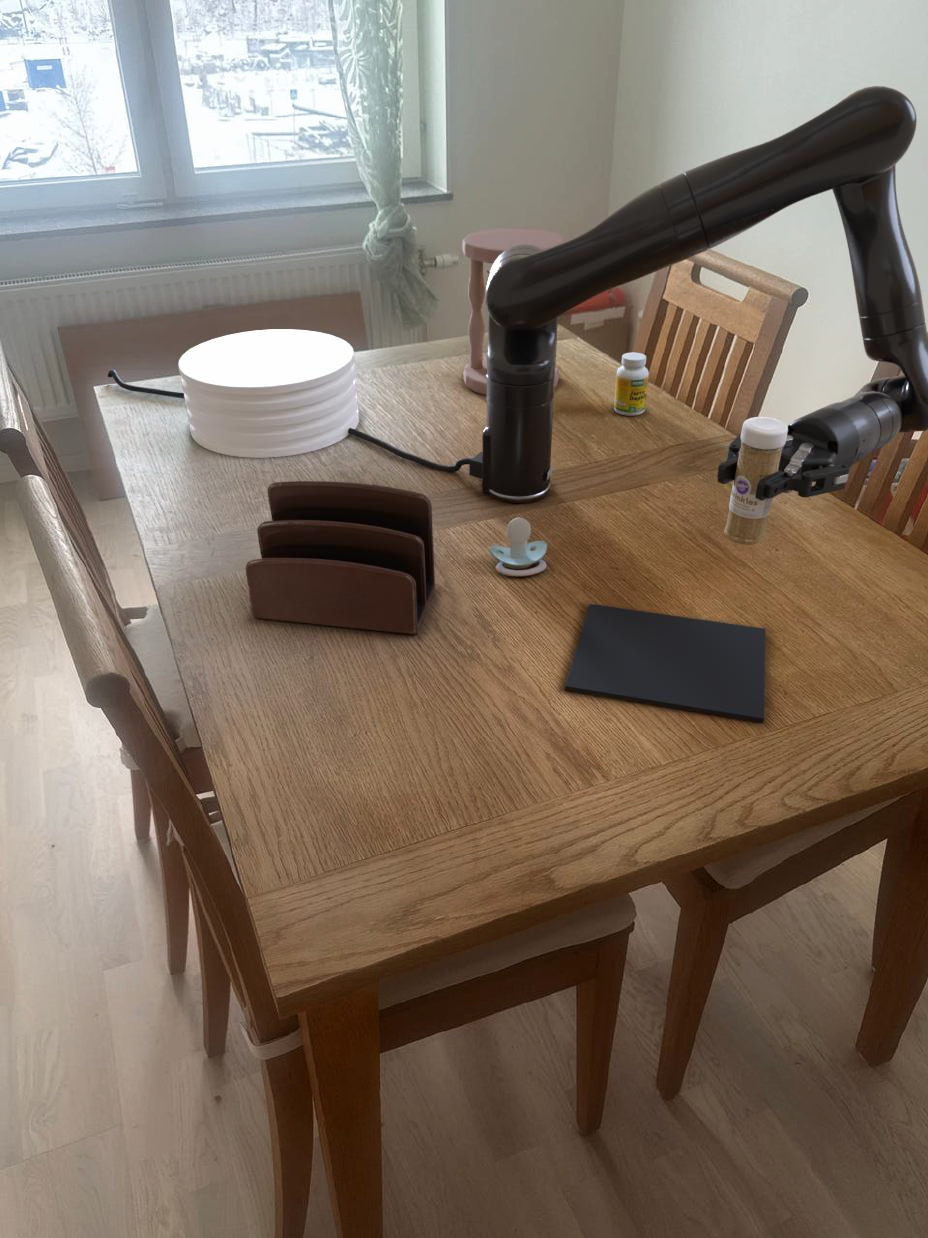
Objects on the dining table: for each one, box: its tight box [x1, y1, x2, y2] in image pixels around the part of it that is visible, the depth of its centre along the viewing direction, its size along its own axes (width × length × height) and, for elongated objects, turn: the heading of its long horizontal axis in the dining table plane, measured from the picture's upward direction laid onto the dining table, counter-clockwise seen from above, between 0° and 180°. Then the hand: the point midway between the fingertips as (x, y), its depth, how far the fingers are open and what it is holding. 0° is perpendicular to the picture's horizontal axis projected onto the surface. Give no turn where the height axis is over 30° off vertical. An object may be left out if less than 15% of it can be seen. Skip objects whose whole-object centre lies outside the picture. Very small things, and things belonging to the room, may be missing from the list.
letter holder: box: [245, 480, 436, 636], centre depth 105 cm, size 10×20×14 cm, turn 79°
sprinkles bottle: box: [723, 416, 788, 546], centre depth 99 cm, size 5×5×14 cm
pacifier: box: [488, 517, 548, 577], centre depth 115 cm, size 7×6×6 cm
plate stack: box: [177, 328, 360, 459], centre depth 152 cm, size 28×28×12 cm
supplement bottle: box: [613, 351, 650, 417], centre depth 156 cm, size 5×5×10 cm
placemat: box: [564, 603, 766, 724], centre depth 100 cm, size 20×16×1 cm
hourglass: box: [462, 227, 567, 396], centre depth 163 cm, size 18×18×25 cm
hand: (740, 483), depth 97 cm, fingers closed on sprinkles bottle, 4 cm apart
